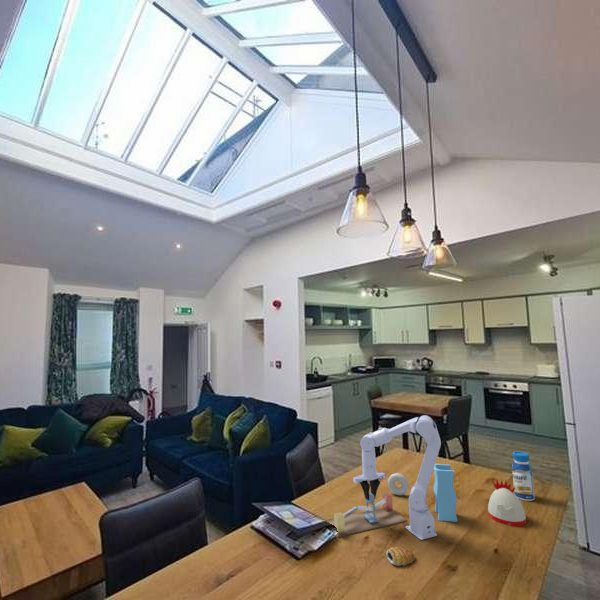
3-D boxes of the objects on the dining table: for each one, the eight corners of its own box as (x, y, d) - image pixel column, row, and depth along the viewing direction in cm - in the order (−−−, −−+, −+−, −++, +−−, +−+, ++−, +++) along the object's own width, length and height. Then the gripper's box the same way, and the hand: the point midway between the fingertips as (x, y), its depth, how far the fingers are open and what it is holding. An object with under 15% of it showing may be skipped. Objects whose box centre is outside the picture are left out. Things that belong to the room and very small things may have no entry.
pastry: (408, 552, 123) (407, 540, 123) (419, 564, 117) (418, 551, 117) (384, 556, 121) (384, 545, 121) (394, 569, 114) (393, 556, 115)
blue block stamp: (371, 514, 147) (370, 490, 149) (379, 521, 142) (378, 496, 143) (363, 516, 146) (362, 492, 147) (370, 523, 140) (370, 498, 141)
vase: (458, 522, 142) (454, 471, 145) (438, 520, 144) (435, 470, 146) (453, 512, 150) (450, 464, 152) (434, 511, 152) (431, 463, 154)
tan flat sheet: (406, 521, 143) (406, 520, 144) (336, 538, 132) (336, 536, 132) (388, 507, 156) (388, 506, 156) (322, 521, 144) (322, 520, 144)
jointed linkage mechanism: (396, 511, 151) (396, 496, 151) (339, 535, 133) (338, 517, 134) (387, 507, 155) (386, 492, 156) (330, 529, 138) (329, 512, 138)
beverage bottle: (539, 499, 161) (535, 454, 163) (527, 502, 158) (523, 457, 160) (522, 492, 169) (518, 449, 171) (510, 495, 166) (506, 452, 168)
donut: (409, 495, 168) (408, 473, 169) (408, 498, 165) (407, 476, 166) (388, 492, 172) (387, 471, 173) (387, 494, 168) (386, 473, 170)
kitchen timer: (489, 506, 155) (486, 471, 157) (525, 514, 148) (522, 477, 150) (487, 520, 143) (484, 482, 145) (527, 529, 136) (523, 489, 138)
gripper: (378, 459, 153) (379, 491, 151) (349, 463, 148) (350, 497, 146) (387, 464, 146) (389, 498, 145) (357, 469, 141) (358, 504, 140)
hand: (370, 498), depth 145 cm, fingers closed on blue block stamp, 2 cm apart
